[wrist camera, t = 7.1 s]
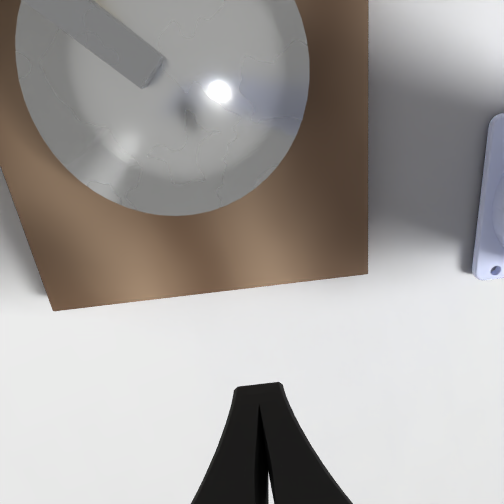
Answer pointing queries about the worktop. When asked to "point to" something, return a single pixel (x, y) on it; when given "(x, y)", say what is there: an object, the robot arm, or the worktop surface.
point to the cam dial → (165, 94)
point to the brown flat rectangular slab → (216, 221)
